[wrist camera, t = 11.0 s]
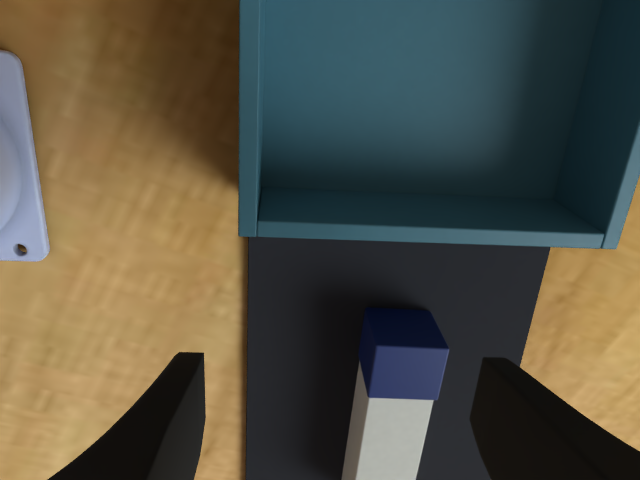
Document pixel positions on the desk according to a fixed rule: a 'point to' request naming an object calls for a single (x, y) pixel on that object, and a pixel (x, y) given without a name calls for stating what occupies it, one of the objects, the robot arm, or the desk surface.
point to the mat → (345, 334)
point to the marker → (393, 393)
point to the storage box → (439, 120)
